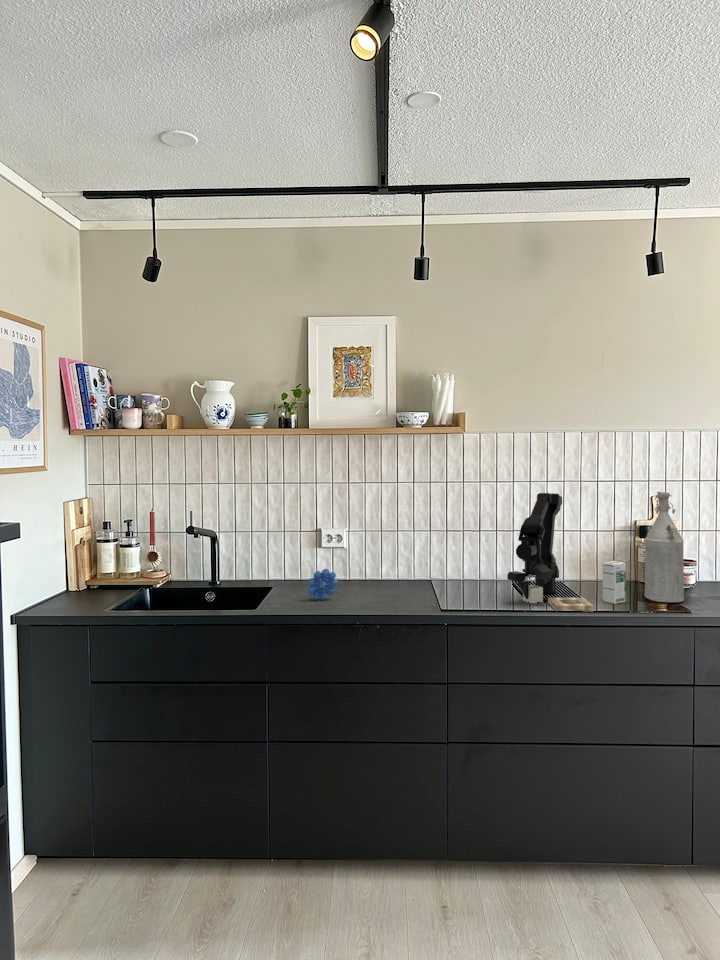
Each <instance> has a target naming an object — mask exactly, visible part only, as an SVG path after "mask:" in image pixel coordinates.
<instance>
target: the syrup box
mask: <svg viewBox="0 0 720 960" xmlns="http://www.w3.org/2000/svg"><path fill="white" fill-rule="evenodd" d="M601 565H602V567H601V568H602V601H604V602H606V603H610V604H615V605H616V604H620V603H626V602H627V575H626V569H627V566H626V565H627V564H626V562H623V561H619V560H618V561H617V560H611V561H606V562H605V561H604V562H602V564H601Z"/></svg>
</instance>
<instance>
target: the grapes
mask: <svg viewBox="0 0 720 960" xmlns="http://www.w3.org/2000/svg"><path fill="white" fill-rule="evenodd" d="M336 577H337V575H336V573H335V572H334V571H330V570H329V569H328V568H324V569H322V570H321V571H320V570H317V571H315V572H314V573H313V577H311V578H309V579H308V581H307V584H308V585H309V587H308V588H307V593H308V594H309V595H311V597H312V599H313V600H315V601H316V600H319V599H320V600H321V601H325V600H327V598H328V597H329V596H333V594H335V592H336V589H335V588H336V587H337V586H338V584H339V581H338V579H336Z"/></svg>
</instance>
